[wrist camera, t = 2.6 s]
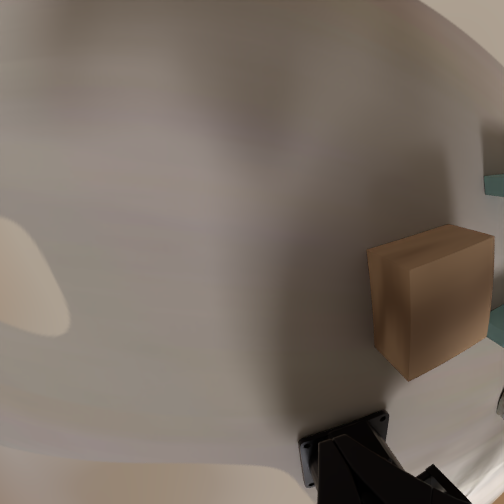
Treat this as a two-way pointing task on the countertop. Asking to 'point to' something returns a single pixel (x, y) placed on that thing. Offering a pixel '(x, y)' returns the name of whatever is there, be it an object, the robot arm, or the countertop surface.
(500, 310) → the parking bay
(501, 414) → the spray can
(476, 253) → the walnut block
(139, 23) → the countertop surface
